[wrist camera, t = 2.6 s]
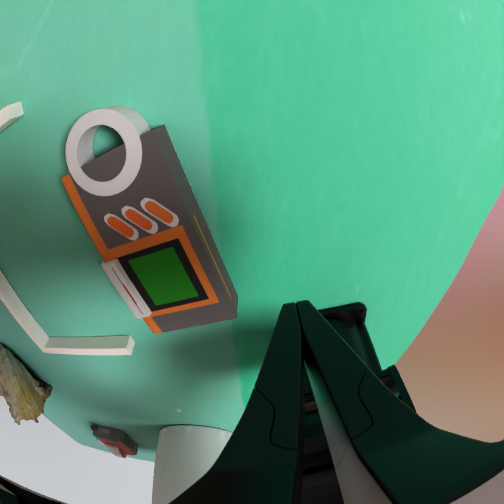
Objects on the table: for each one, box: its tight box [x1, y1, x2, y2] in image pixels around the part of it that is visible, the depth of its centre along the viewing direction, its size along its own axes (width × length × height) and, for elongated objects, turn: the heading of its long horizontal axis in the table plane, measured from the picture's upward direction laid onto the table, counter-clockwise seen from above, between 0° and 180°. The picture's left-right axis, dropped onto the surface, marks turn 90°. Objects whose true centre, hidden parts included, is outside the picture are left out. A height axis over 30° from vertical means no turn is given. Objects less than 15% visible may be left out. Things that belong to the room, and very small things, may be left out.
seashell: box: [0, 344, 52, 425], centre depth 25 cm, size 11×14×10 cm
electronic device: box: [61, 106, 238, 334], centre depth 16 cm, size 7×3×15 cm
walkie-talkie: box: [90, 424, 138, 458], centre depth 43 cm, size 9×4×20 cm
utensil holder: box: [152, 425, 232, 504], centre depth 32 cm, size 15×15×18 cm
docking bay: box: [0, 101, 135, 355], centre depth 16 cm, size 12×23×2 cm, turn 10°
